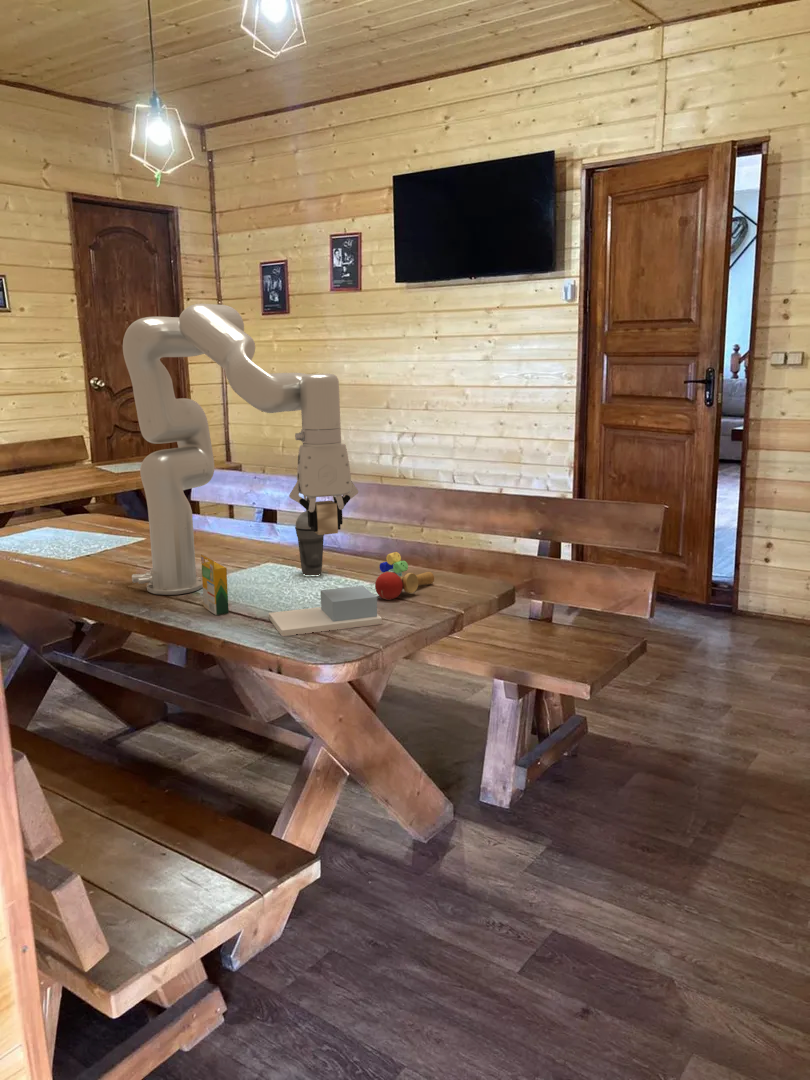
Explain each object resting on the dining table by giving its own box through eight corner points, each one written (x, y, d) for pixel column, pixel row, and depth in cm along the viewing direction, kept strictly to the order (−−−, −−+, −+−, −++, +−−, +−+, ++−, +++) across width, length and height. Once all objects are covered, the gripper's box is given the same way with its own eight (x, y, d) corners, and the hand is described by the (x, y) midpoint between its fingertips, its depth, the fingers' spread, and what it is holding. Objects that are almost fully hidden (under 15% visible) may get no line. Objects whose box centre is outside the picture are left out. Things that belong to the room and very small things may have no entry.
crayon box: (229, 613, 180) (226, 558, 178) (215, 615, 178) (212, 560, 176) (216, 605, 186) (213, 552, 184) (203, 607, 184) (199, 553, 182)
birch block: (318, 535, 172) (317, 505, 171) (313, 531, 176) (312, 502, 175) (338, 533, 174) (336, 503, 172) (332, 529, 177) (331, 500, 176)
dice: (378, 576, 208) (378, 550, 207) (387, 574, 210) (386, 548, 208) (400, 582, 202) (400, 555, 201) (409, 580, 204) (409, 553, 203)
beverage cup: (322, 578, 206) (319, 495, 202) (292, 577, 208) (289, 494, 203) (330, 571, 213) (328, 490, 209) (302, 570, 214) (299, 489, 210)
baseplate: (282, 636, 165) (281, 610, 164) (269, 618, 176) (267, 593, 175) (382, 623, 172) (381, 598, 171) (363, 607, 183) (362, 583, 182)
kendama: (412, 586, 204) (363, 593, 189) (418, 561, 203) (369, 566, 188) (438, 597, 200) (390, 606, 185) (444, 571, 198) (397, 577, 184)
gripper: (284, 441, 165) (288, 536, 168) (368, 437, 170) (371, 529, 174) (275, 438, 171) (280, 530, 175) (356, 434, 177) (359, 522, 181)
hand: (325, 528), depth 175 cm, fingers closed on birch block, 4 cm apart
